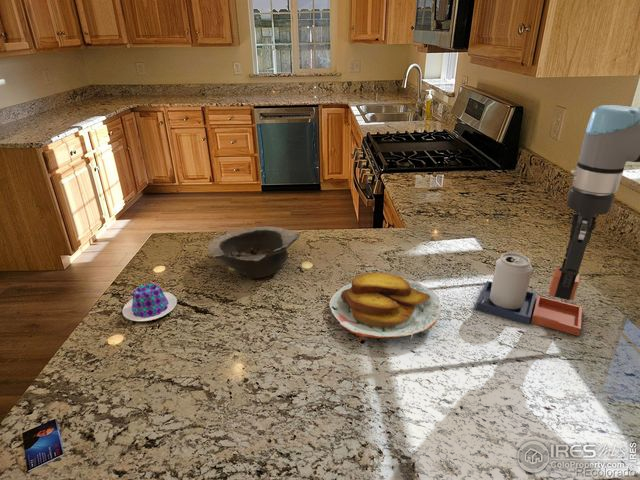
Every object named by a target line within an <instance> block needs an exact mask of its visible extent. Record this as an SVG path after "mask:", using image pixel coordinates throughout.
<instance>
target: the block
mask: <svg viewBox="0 0 640 480" xmlns="http://www.w3.org/2000/svg"><path fill="white" fill-rule="evenodd" d="M559 268H560V267H557V266H556V267H555V269H554V272H553V276H552V279H551V282H550V285H549V291H548V295H549V296H553V297H555V294H556V290H557V287H558V283H559V280H560V276H561V273H562V271H559ZM580 274H581V273H580V272H579V274H578V275H577V276H576V279H575V283H574V286H573V289H572V292H571V296H570V299H569V300H568V301H572V302H573V301H574V298H575V296H576V291H577V289H578V287H579V283H580Z"/></svg>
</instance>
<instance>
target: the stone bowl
mask: <svg viewBox="0 0 640 480" xmlns="http://www.w3.org/2000/svg"><path fill="white" fill-rule="evenodd" d="M300 236H301V233H300V232H299V233H297V232H296V233H294V231H293V230H290V229H286V228H282V227H277V226H266V225H264V226H255V227H253V226H252V227H247V228H243V229H238V230H237V229H236V230H233V231H228V232H227V233H225V234H221V235H219V236H216V237H215V238H213V239H212V240H211V241H210V242H209V243H208V244H207V245H206V250H207V252H208V253H209V254H210V255H211V256H212V257H213V258H217V259H221V261H222V262H223V263H224V264H225V265H226V266H227V267H229V268H230V269H233V270H234V271H236V272H237V273H240V274H245V277H246V278H247V280H256V279H262V278H267V277H269V276H271V275H272V274H276V273H278V272H279V271H280V270H282V267H283V264H284V263H286V261H287V259H288V251H287V249H288V248H289V247H291V245H293V244H294V243H295V242H297V240H298V239H299V238H300Z"/></svg>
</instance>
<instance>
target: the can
mask: <svg viewBox="0 0 640 480" xmlns="http://www.w3.org/2000/svg"><path fill="white" fill-rule="evenodd" d="M532 272H533V266H532V264H531V259H530V258H529V257H527V256H526V255H524V254H521V253H517V252H504V253H502V254H501V255H500V257H499V258H497V260H496V262H495V268H494V272H493V277H492V281H491V282H492V287H491V292H490V300H491V301H492V302H493V303H494V304H495V305H496V306H497V307H499V308H503V309H506V310H516V309H519V308H521V307H522V306H523V305H524V302H525V297H526V293H527V291H528V289H529V284H530V281H531V276H532Z"/></svg>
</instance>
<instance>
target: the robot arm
mask: <svg viewBox="0 0 640 480" xmlns="http://www.w3.org/2000/svg"><path fill="white" fill-rule="evenodd" d="M580 149H581V150H580V153H579V157H578V160H577V164H576V167H575V169H572V170H571V171H570V174H571V175H572V176H573V179H572V183H571V185H572V187H571V188H570V189H569V191H568V197H567V200H566V206H567V207H568V208H569V209H570V210H573V212H574V211H575V212H576V213H575V212H574V213H573V214H572V219H571V226H570V233H569V239H568V243H567V247H566V249H565V251H566V253H565V254H564V258H563V261H562V264H561V266H560V267H558V268H559V271H562V273H561V276H560V280H559V283H558V287H557V290H556V294H555V296H554V298H558V299H562V300H566V301H570V300H569V299H570V296H571V292H572V289H573V286H574V283H575V279H576V276H577V275H578V274H579V273H580V268H581V265H582V262H583V258H584V255H585V251H586V248H587V245H588V243H590V240H591V238H592V237H591V236H592V232H593V231H594V230H595V227H596V224H597V221H596V220H597V216H598V215H599V216H601V215H606V214H607V215H608V213H610V212H611V210H612V207H613V203H614V200H615V197H616V195H615V193H617V191H618V190H619V187H620V183H621V179H622V177H623V174H624V169H625V166H626V164H627V162H629V163H640V106H639V107H634V106H628V105H618V104H604V105H599V106H597V107H595V108H594V109H593V110H592V112H591V114H590V117H589V119H588V122H587V125H586V129H585V130H584V136H583V140H582V145H581V148H580ZM579 275H580V274H579Z"/></svg>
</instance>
